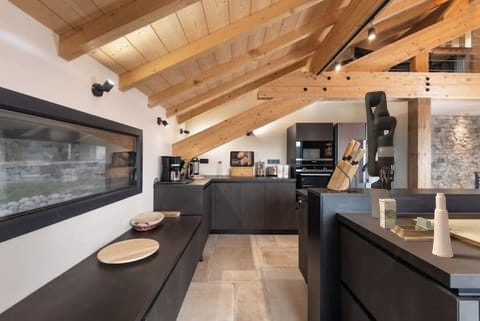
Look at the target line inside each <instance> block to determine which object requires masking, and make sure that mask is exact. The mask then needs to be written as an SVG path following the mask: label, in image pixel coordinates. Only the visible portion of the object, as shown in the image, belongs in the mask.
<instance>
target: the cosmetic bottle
mask: <svg viewBox="0 0 480 321" xmlns="http://www.w3.org/2000/svg"><path fill="white" fill-rule="evenodd" d="M446 201H447V200H446V196H445V193H441V192H437V193H436V196H435V209H434V218H433V219H434V222H433V223H434V241H433V245H432V246H433V247H432V251H431V253H432V254H433V255H435V256H436V255H437V257H440V258H452V257H454V252H453V248H452V243H451V242H452V240H451V241H450V239H451V234H450V233H451V232H450V230H449V227H450V223H449V212H448V210H447V203H446Z"/></svg>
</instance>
